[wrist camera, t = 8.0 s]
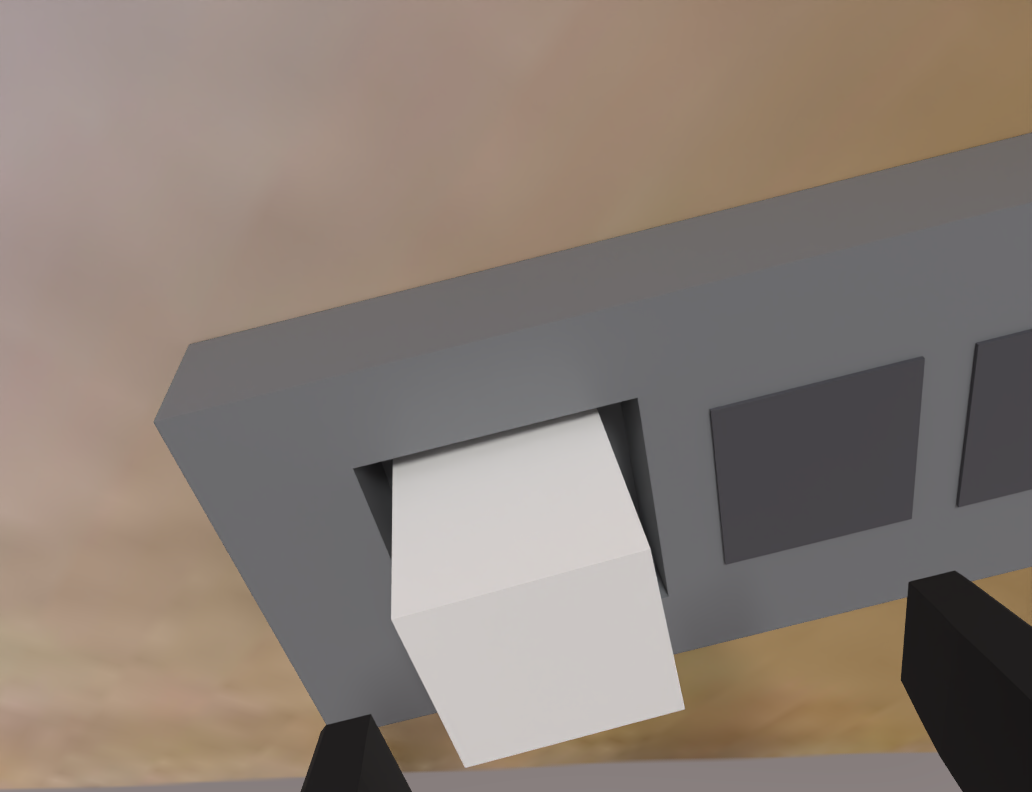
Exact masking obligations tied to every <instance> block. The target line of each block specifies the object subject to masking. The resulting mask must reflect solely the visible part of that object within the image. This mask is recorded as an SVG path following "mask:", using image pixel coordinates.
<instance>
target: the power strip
mask: <svg viewBox="0 0 1032 792" xmlns="http://www.w3.org/2000/svg"><path fill="white" fill-rule="evenodd" d="M594 408H597V411H598V413H599V416H600V418H601V421H602V424H603V426H604V429H605V431H606V434H607V437H608V439H609V442H610V444H611V447H612V450H613V452H614V455H615V458H616V460H617V463H618V465H619V468H620V471H621V473H622V476H623V478H624V481H625V484H626V486H627V489H628V491H629V494H630V497H631V499H632V502H633V504H634V507H635V510H636V512H637V515H638V518H639V520H640V523H641V525H642V528H643V531H644V533H645V536H646V538H647V541H648V544H649V546H650V549H651V554H652V558H653V563H654V567H655V572H656V577H657V581H658V586H659V591H660V595H661V600H662V605H663V609H664V614H665V619H666V623H667V628H668V633H669V637H670V642H671V647H672V651H673V654H677V653H681V652H686V651H690V650H694V649H698V648H702V647H706V646H710V645H714V644H718V643H722V642H726V641H730V640H734V639H738V638H743V637H747V636H751V635H755V634H759V633H763V632H767V631H771V630H775V629H779V628H783V627H787V626H791V625H795V624H799V623H804V622H808V621H812V620H816V619H820V618H824V617H828V616H832V615H836V614H840V613H844V612H848V611H852V610H856V609H861V608H865V607H869V606H873V605H877V604H881V603H885V602H889V601H893V600H897V599H901V598H905V597H907V596H908V583H909V582H910V581H914V580H918V579H922V578H926V577H930V576H934V575H938V574H942V573H946V572H950V571H954V570H955V571H957V572H958V573H960V574H962V575H963V576H964V577H966V578H967V579H968V580H970V581H975V580H979V579H983V578H987V577H991V576H995V575H999V574H1003V573H1007V572H1011V571H1015V570H1019V569H1023V568H1027V567H1032V133H1029V134H1025V135H1021V136H1017V137H1013V138H1009V139H1005V140H1001V141H997V142H993V143H989V144H985V145H981V146H977V147H973V148H969V149H965V150H961V151H957V152H953V153H949V154H945V155H941V156H937V157H933V158H929V159H925V160H921V161H917V162H913V163H909V164H905V165H901V166H897V167H893V168H889V169H886V170H882V171H878V172H874V173H870V174H866V175H862V176H858V177H854V178H850V179H846V180H842V181H838V182H834V183H830V184H826V185H822V186H818V187H814V188H810V189H806V190H802V191H798V192H794V193H790V194H786V195H782V196H778V197H774V198H770V199H766V200H762V201H758V202H754V203H750V204H746V205H742V206H738V207H734V208H730V209H726V210H722V211H719V212H715V213H711V214H707V215H703V216H699V217H695V218H691V219H687V220H683V221H679V222H675V223H671V224H667V225H663V226H659V227H655V228H651V229H647V230H643V231H639V232H635V233H631V234H627V235H623V236H619V237H615V238H611V239H607V240H603V241H599V242H595V243H591V244H587V245H583V246H579V247H575V248H571V249H567V250H563V251H559V252H555V253H551V254H548V255H544V256H540V257H536V258H532V259H528V260H524V261H520V262H516V263H512V264H508V265H504V266H500V267H496V268H492V269H488V270H484V271H480V272H476V273H472V274H468V275H464V276H460V277H456V278H452V279H448V280H444V281H440V282H436V283H432V284H428V285H424V286H420V287H416V288H412V289H408V290H404V291H400V292H396V293H392V294H388V295H384V296H380V297H377V298H373V299H369V300H365V301H361V302H357V303H353V304H349V305H345V306H341V307H337V308H333V309H329V310H325V311H321V312H317V313H313V314H309V315H305V316H301V317H297V318H293V319H289V320H285V321H281V322H277V323H273V324H269V325H265V326H261V327H257V328H253V329H249V330H245V331H241V332H237V333H233V334H229V335H225V336H221V337H217V338H213V339H210V340H206V341H202V342H198V343H194V344H190V345H189V346H188V348H187V350H186V353H185V355H184V357H183V359H182V361H181V363H180V366H179V368H178V370H177V372H176V374H175V376H174V379H173V381H172V383H171V385H170V387H169V389H168V392H167V394H166V396H165V398H164V400H163V402H162V405H161V407H160V409H159V411H158V413H157V415H156V418H155V420H154V424H155V426H156V427H157V429H158V431H159V433H160V434H161V436H162V438H163V440H164V441H165V443H166V445H167V447H168V448H169V450H170V452H171V454H172V455H173V457H174V459H175V461H176V462H177V464H178V466H179V468H180V469H181V471H182V473H183V475H184V476H185V478H186V480H187V482H188V483H189V485H190V487H191V489H192V490H193V492H194V494H195V496H196V497H197V499H198V501H199V503H200V504H201V506H202V508H203V510H204V511H205V513H206V515H207V517H208V518H209V520H210V522H211V524H212V525H213V527H214V529H215V531H216V532H217V534H218V536H219V538H220V539H221V541H222V543H223V545H224V546H225V548H226V550H227V552H228V553H229V555H230V557H231V559H232V560H233V562H234V564H235V566H236V567H237V569H238V571H239V573H240V574H241V576H242V578H243V580H244V581H245V583H246V585H247V587H248V588H249V590H250V592H251V594H252V595H253V597H254V599H255V601H256V602H257V604H258V606H259V608H260V609H261V611H262V613H263V615H264V616H265V618H266V620H267V622H268V623H269V625H270V627H271V629H272V630H273V632H274V634H275V636H276V637H277V639H278V641H279V643H280V644H281V646H282V648H283V650H284V651H285V653H286V655H287V657H288V658H289V660H290V662H291V664H292V665H293V667H294V669H295V671H296V672H297V674H298V676H299V678H300V679H301V681H302V683H303V685H304V686H305V688H306V690H307V692H308V693H309V695H310V697H311V699H312V700H313V702H314V704H315V706H316V707H317V709H318V711H319V713H320V714H321V716H322V718H323V720H324V721H325V723H326V725H328V724H332V723H336V722H340V721H344V720H348V719H352V718H356V717H360V716H364V715H369V714H371V715H372V717H373V719H374V721H375V723H376V725H377V726H378V727H380V726H384V725H388V724H392V723H397V722H401V721H405V720H409V719H413V718H417V717H421V716H425V715H429V714H433V713H437V710H436V708H435V706H434V704H433V702H432V700H431V698H430V696H429V694H428V692H427V690H426V688H425V686H424V684H423V682H422V680H421V678H420V676H419V674H418V672H417V670H416V668H415V666H414V664H413V662H412V660H411V658H410V656H409V654H408V652H407V650H406V648H405V646H404V644H403V642H402V640H401V638H400V636H399V634H398V632H397V630H396V628H395V626H394V624H393V622H392V620H391V584H392V487H393V458H397V457H401V456H405V455H409V454H413V453H417V452H421V451H425V450H429V449H433V448H437V447H441V446H445V445H450V444H454V443H458V442H462V441H466V440H470V439H474V438H478V437H482V436H486V435H490V434H494V433H498V432H502V431H506V430H510V429H514V428H518V427H522V426H526V425H530V424H534V423H538V422H542V421H546V420H550V419H554V418H558V417H562V416H566V415H570V414H574V413H578V412H582V411H586V410H590V409H594Z"/></svg>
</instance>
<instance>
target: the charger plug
mask: <svg viewBox="0 0 1032 792" xmlns="http://www.w3.org/2000/svg"><path fill="white" fill-rule="evenodd" d="M391 620H392V622H393V624H394V626H395V628H396V630H397V632H398V634H399V636H400V638H401V640H402V642H403V644H404V646H405V648H406V650H407V652H408V654H409V656H410V658H411V660H412V662H413V664H414V666H415V668H416V670H417V672H418V674H419V676H420V678H421V680H422V682H423V684H424V686H425V688H426V690H427V692H428V694H429V696H430V698H431V700H432V702H433V704H434V706H435V708H436V710H437V712H438V714H439V716H440V718H441V720H442V722H443V724H444V726H445V728H446V730H447V732H448V734H449V736H450V738H451V740H452V742H453V744H454V746H455V748H456V750H457V752H458V754H459V756H460V758H461V760H462V762H463V764H464V766H465V768H467V767H470V766H474V765H478V764H482V763H485V762H489V761H493V760H497V759H500V758H504V757H508V756H512V755H515V754H519V753H523V752H527V751H530V750H534V749H538V748H542V747H545V746H549V745H553V744H557V743H560V742H564V741H568V740H572V739H575V738H579V737H583V736H586V735H590V734H594V733H598V732H601V731H605V730H609V729H613V728H616V727H620V726H624V725H628V724H631V723H635V722H639V721H643V720H646V719H650V718H654V717H658V716H661V715H665V714H669V713H673V712H676V711H680V710H684V709H685V707H684V702H683V698H682V693H681V688H680V684H679V679H678V674H677V670H676V665H675V660H674V656H673V651H672V647H671V642H670V637H669V633H668V628H667V623H666V619H665V614H664V609H663V605H662V600H661V595H660V591H659V586H658V581H657V577H656V572H655V567H654V563H653V558H652V554H651V549H650V546H649V544H648V541H647V538H646V536H645V533H644V531H643V528H642V525H641V523H640V520H639V518H638V515H637V512H636V510H635V507H634V504H633V502H632V499H631V497H630V494H629V491H628V489H627V486H626V484H625V481H624V478H623V476H622V473H621V471H620V468H619V465H618V463H617V460H616V458H615V455H614V452H613V450H612V447H611V444H610V442H609V439H608V437H607V434H606V431H605V429H604V426H603V424H602V421H601V418H600V416H599V413H598V411H597V408H594V409H590V410H586V411H582V412H578V413H574V414H570V415H566V416H562V417H558V418H554V419H550V420H546V421H542V422H538V423H534V424H530V425H526V426H522V427H518V428H514V429H510V430H506V431H502V432H498V433H494V434H490V435H486V436H482V437H478V438H474V439H470V440H466V441H462V442H458V443H454V444H450V445H445V446H441V447H437V448H433V449H429V450H425V451H421V452H417V453H413V454H409V455H405V456H401V457H397V458H393V487H392V584H391Z"/></svg>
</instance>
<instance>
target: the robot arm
mask: <svg viewBox="0 0 1032 792" xmlns="http://www.w3.org/2000/svg"><path fill="white" fill-rule="evenodd" d="M901 681H902V683H903V685H904V687H905V689H906V691H907V693H908V695H909V697H910V699H911V701H912V703H913V705H914V707H915V709H916V711H917V713H918V715H919V717H920V719H921V721H922V723H923V725H924V727H925V729H926V731H927V733H928V735H929V736H930V738H931V740H932V742H933V744H934V746H935V748H936V750H937V752H938V754H939V755H940V757H941V759H942V760H943V762H944V763H945V765H946V766H947V768H948V769H949V771H950V773H951V774H952V776H953V777H954V779H955V781H956V782H957V783H958V785H959V787H960V788H961V790H962V791H963V792H1032V626H1030V625H1029V624H1027V623H1026V622H1025V621H1023V620H1022V619H1021V618H1019V617H1018V616H1017V615H1015V614H1014V613H1013V612H1011V611H1010V610H1009V609H1007V608H1006V607H1005V606H1003V605H1002V604H1001V603H999V602H998V601H997V600H995V599H994V598H993V597H991V596H990V595H989V594H987V593H986V592H984V591H983V590H982V589H980V588H979V587H978V586H976V585H975V584H974V583H972V582H971V581H970V580H968V579H967V578H966V577H964V576H963V575H962V574H960V573H958V572H957V571H955V570H954V571H950V572H946V573H942V574H938V575H934V576H930V577H926V578H922V579H918V580H914V581H910V582H909V583H908V596H907V608H906V621H905V634H904V647H903V659H902V672H901ZM301 792H412V791H411V789H410V787H409V786H408V784H407V782H406V780H405V778H404V776H403V774H402V772H401V770H400V768H399V766H398V764H397V763H396V761H395V759H394V757H393V755H392V753H391V751H390V749H389V747H388V745H387V744H386V742H385V740H384V738H383V736H382V734H381V732H380V730H379V728H378V726H377V725H376V723H375V721H374V719H373V717H372V715H371V714H369V715H364V716H360V717H356V718H352V719H348V720H344V721H340V722H336V723H332V724H328V725H326V726H325V727H324V729H323V730H322V731H321V733H320V736H319V739H318V742H317V745H316V748H315V751H314V754H313V757H312V760H311V763H310V766H309V769H308V772H307V775H306V778H305V781H304V784H303V786H302V789H301Z"/></svg>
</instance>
